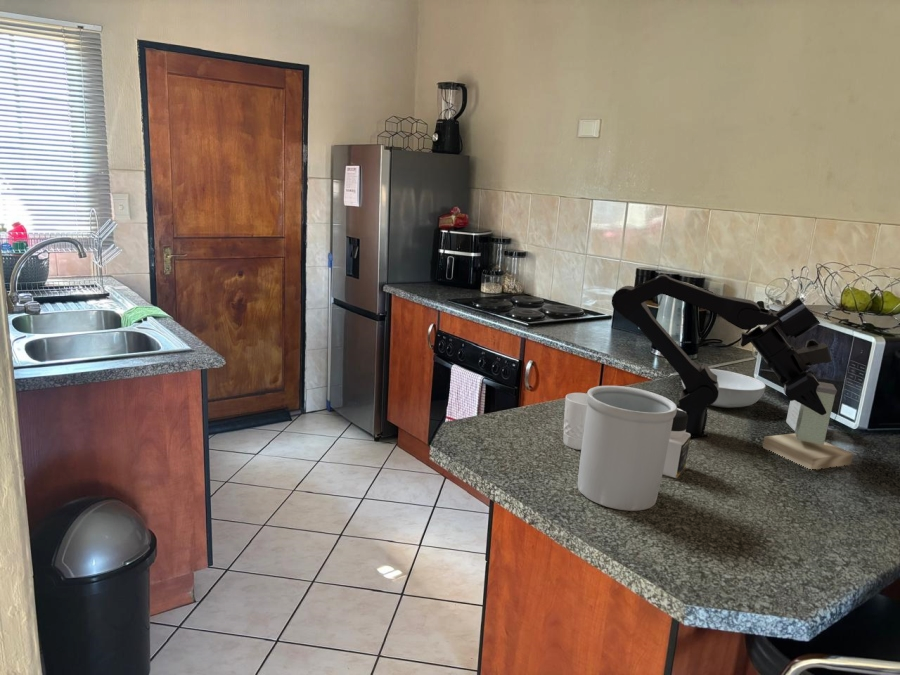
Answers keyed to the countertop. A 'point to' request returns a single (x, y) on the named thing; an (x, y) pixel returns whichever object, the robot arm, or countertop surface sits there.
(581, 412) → the white cup
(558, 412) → the countertop surface
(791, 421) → the small box
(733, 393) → the serving bowl
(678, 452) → the medicine bottle
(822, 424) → the tea tin
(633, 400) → the utensil holder
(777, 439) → the wooden block
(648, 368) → the countertop surface
